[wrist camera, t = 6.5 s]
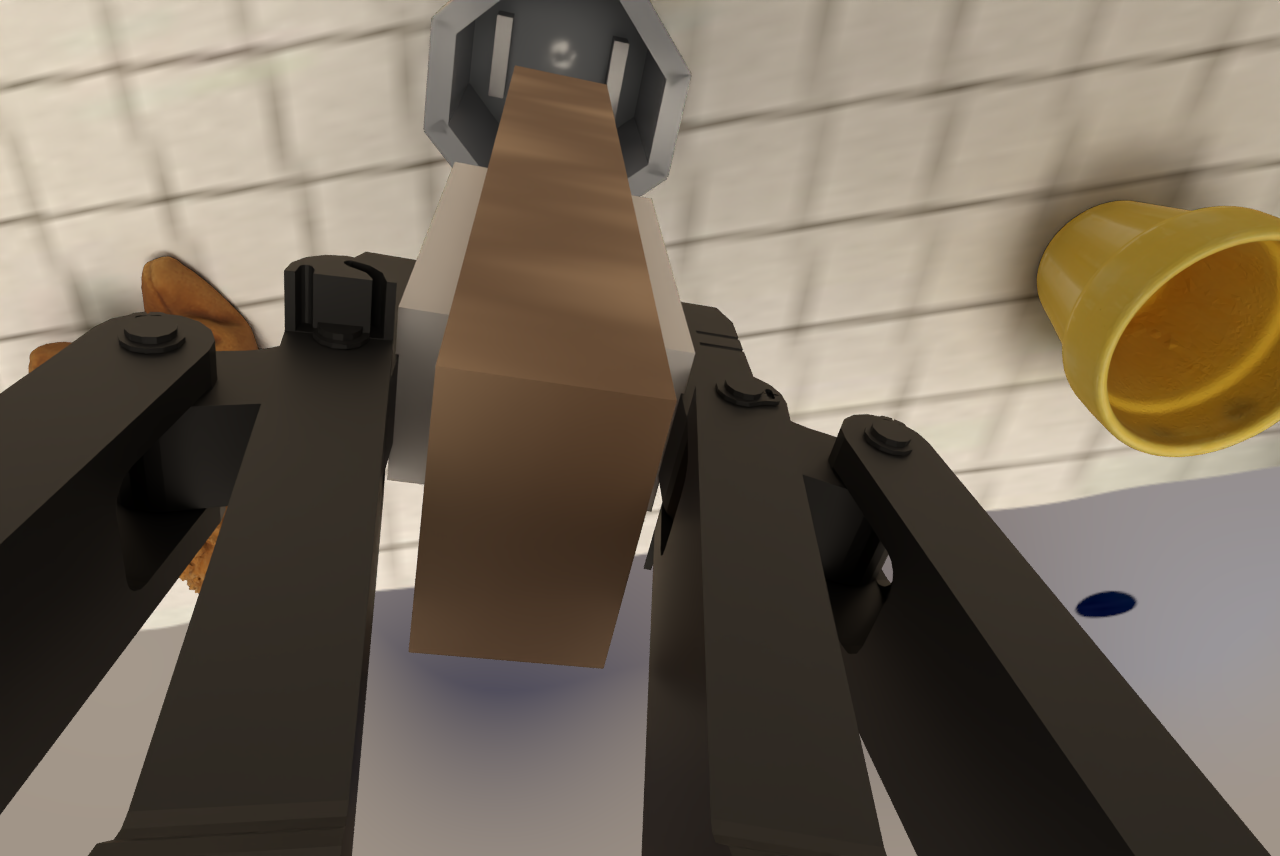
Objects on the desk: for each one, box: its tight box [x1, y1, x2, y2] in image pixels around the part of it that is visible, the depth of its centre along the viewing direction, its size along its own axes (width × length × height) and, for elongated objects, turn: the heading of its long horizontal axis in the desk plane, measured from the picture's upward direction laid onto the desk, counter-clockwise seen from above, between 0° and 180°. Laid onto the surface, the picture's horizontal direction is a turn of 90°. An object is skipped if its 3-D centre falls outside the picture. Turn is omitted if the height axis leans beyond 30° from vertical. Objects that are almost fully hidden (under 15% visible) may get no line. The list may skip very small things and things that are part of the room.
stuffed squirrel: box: [29, 256, 259, 593], centre depth 37 cm, size 10×14×13 cm
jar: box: [424, 0, 691, 197], centre depth 32 cm, size 9×9×8 cm
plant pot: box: [1037, 201, 1280, 457], centre depth 38 cm, size 10×10×10 cm
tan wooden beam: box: [409, 65, 677, 668], centre depth 16 cm, size 2×4×16 cm, turn 168°
